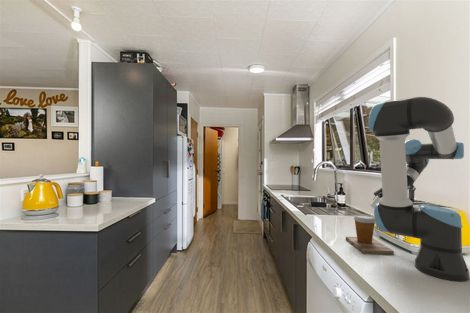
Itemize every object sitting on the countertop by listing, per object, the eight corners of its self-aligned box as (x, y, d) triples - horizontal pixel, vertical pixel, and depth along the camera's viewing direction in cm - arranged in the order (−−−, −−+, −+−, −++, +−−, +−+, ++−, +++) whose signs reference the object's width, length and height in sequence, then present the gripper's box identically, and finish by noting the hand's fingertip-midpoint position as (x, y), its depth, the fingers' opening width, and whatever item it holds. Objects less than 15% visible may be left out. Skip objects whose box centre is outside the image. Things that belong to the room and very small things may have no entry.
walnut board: (393, 254, 104) (393, 251, 104) (363, 253, 104) (363, 249, 104) (371, 240, 122) (371, 237, 123) (345, 239, 123) (345, 236, 123)
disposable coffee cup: (370, 238, 120) (370, 214, 121) (379, 245, 111) (379, 219, 111) (350, 237, 121) (350, 214, 122) (358, 244, 112) (358, 218, 112)
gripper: (437, 185, 110) (413, 220, 105) (388, 181, 134) (367, 209, 129) (428, 174, 109) (404, 208, 104) (381, 172, 133) (359, 199, 128)
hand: (383, 209), depth 117 cm, fingers open, 13 cm apart
